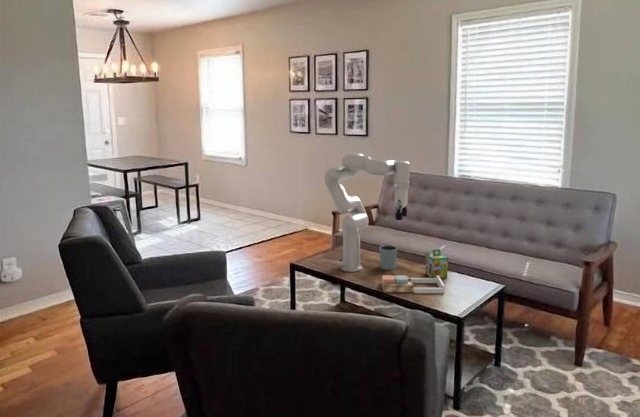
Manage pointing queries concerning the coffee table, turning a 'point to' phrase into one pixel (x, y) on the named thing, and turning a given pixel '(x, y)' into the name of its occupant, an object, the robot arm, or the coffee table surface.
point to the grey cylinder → (388, 257)
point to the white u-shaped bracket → (429, 280)
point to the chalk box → (436, 265)
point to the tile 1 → (388, 279)
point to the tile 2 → (401, 279)
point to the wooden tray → (399, 287)
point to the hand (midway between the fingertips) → (401, 217)
